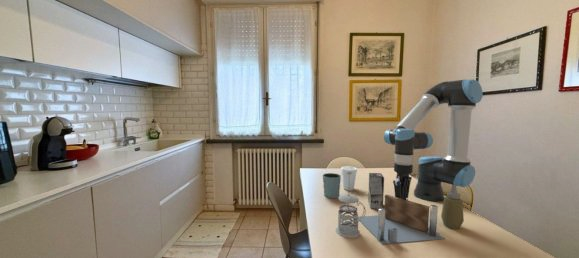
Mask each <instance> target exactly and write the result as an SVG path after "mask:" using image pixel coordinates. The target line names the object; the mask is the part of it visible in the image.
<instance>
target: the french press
mask: <svg viewBox="0 0 579 258" xmlns="http://www.w3.org/2000/svg"><path fill="white" fill-rule="evenodd" d="M347 174H352V173H351V171H347ZM337 199H338V200H339V201H340V202H341V203H345V204H341V205H340V206H339V209H338V212H337V213H338V215H337V216H338V218H337V219H338V221H337V222H338V223H337V228H335V232H336V234H338V235H339V236H341V237H343V238H350V239H351V238H356V237H357V238H358V237H359V236H360V235H361V231H360V230H359V222H360V220H362V219H363V218H364V217H363V218H362V219H360V220H358V219H359V218H358V217H360V216H359V213H358V208H357V206H358V207H359V205H362V207H363V210H364V211H363V213H362V214H361V217H362V216H366V213H367V212H366V211H367V210H366V207H365V205H364V204H363V203H362V202H361V201H360V200H359V198H358V196H356V195H354V194H351V193H350V192H348V193H344V194H340V195H339V197H338V198H337ZM350 204H356V205H357V206H354V205H350ZM361 217H360V218H361Z"/></svg>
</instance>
